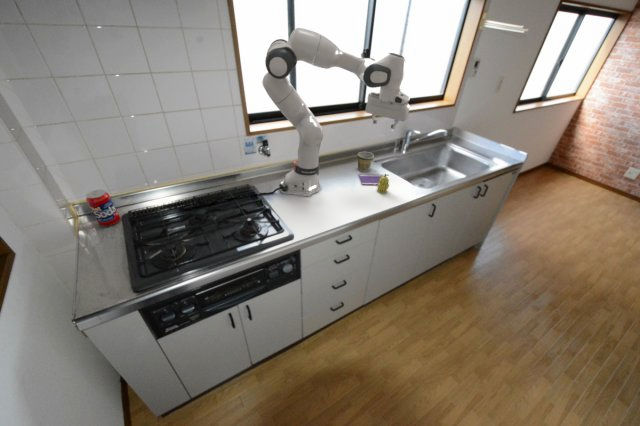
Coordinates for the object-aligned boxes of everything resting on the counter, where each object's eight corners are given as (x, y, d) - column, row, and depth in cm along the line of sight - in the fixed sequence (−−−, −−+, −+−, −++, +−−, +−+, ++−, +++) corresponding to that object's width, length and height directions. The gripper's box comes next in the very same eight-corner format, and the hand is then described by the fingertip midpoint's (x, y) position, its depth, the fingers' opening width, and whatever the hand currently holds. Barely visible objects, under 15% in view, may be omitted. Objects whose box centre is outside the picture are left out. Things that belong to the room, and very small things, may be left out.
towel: (362, 184, 158) (362, 184, 157) (358, 175, 167) (358, 174, 167) (387, 185, 159) (387, 184, 159) (382, 175, 168) (382, 174, 168)
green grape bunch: (377, 194, 150) (381, 176, 144) (375, 188, 155) (378, 171, 149) (388, 194, 151) (392, 176, 144) (385, 188, 156) (389, 171, 149)
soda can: (115, 214, 125) (101, 186, 116) (124, 221, 121) (110, 192, 112) (96, 223, 119) (80, 194, 110) (105, 230, 116) (89, 200, 107)
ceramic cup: (367, 174, 168) (369, 159, 162) (352, 169, 172) (354, 155, 166) (375, 167, 177) (378, 152, 171) (361, 162, 181) (364, 148, 175)
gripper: (365, 92, 124) (361, 122, 132) (407, 100, 114) (400, 133, 123) (372, 90, 128) (367, 119, 136) (413, 98, 119) (406, 129, 127)
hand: (383, 126), depth 129 cm, fingers open, 8 cm apart
